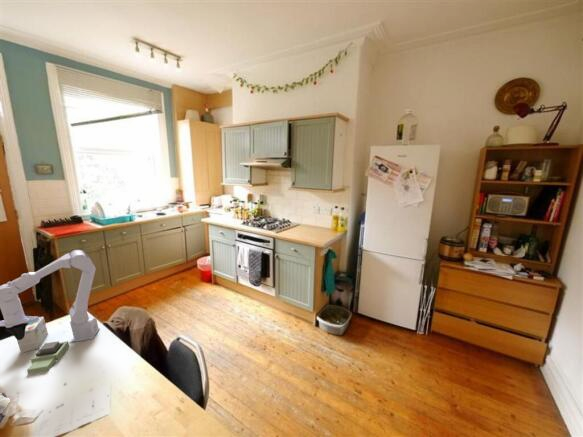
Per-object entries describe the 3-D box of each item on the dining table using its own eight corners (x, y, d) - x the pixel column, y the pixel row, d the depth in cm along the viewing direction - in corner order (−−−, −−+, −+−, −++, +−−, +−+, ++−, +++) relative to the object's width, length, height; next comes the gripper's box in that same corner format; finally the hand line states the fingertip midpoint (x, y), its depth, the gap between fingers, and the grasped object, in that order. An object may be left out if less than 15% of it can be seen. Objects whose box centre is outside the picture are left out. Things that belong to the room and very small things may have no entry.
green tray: (69, 346, 118) (68, 341, 117) (51, 369, 105) (49, 363, 104) (44, 350, 115) (43, 345, 114) (23, 374, 102) (21, 368, 102)
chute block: (63, 350, 115) (60, 340, 114) (56, 358, 111) (53, 348, 109) (44, 353, 114) (42, 343, 112) (37, 361, 109) (34, 351, 108)
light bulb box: (31, 338, 122) (25, 319, 120) (49, 334, 125) (44, 315, 123) (20, 353, 113) (13, 333, 110) (39, 348, 116) (34, 329, 113)
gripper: (-18, 320, 99) (-8, 348, 102) (27, 314, 103) (35, 341, 106) (-4, 309, 106) (5, 336, 109) (38, 304, 109) (46, 330, 113)
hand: (21, 338), depth 108 cm, fingers closed
